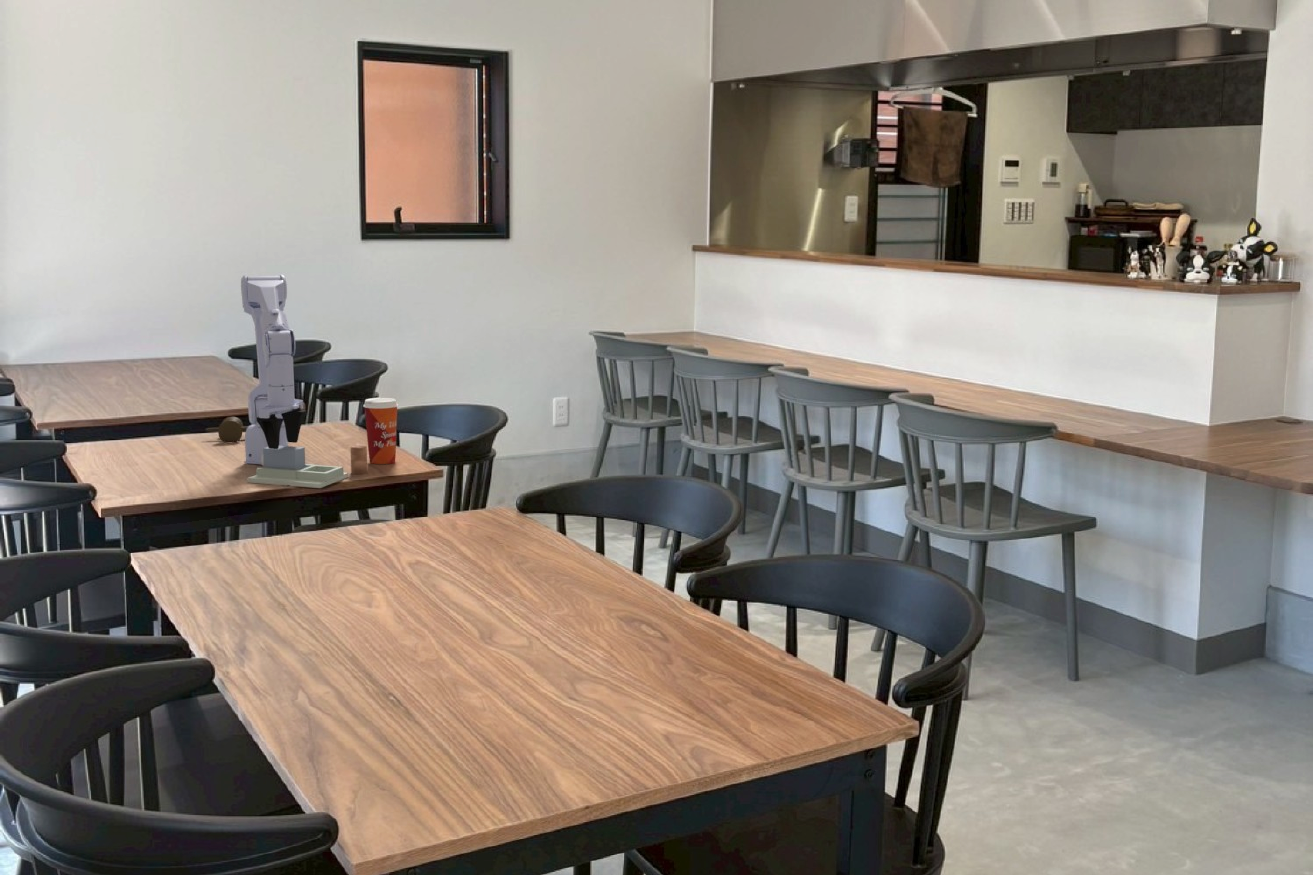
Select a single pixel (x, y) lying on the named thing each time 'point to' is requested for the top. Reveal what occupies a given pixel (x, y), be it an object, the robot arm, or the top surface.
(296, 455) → the grey-blue box block
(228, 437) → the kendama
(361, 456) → the tail peg
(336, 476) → the tray
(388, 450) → the coffee cup
